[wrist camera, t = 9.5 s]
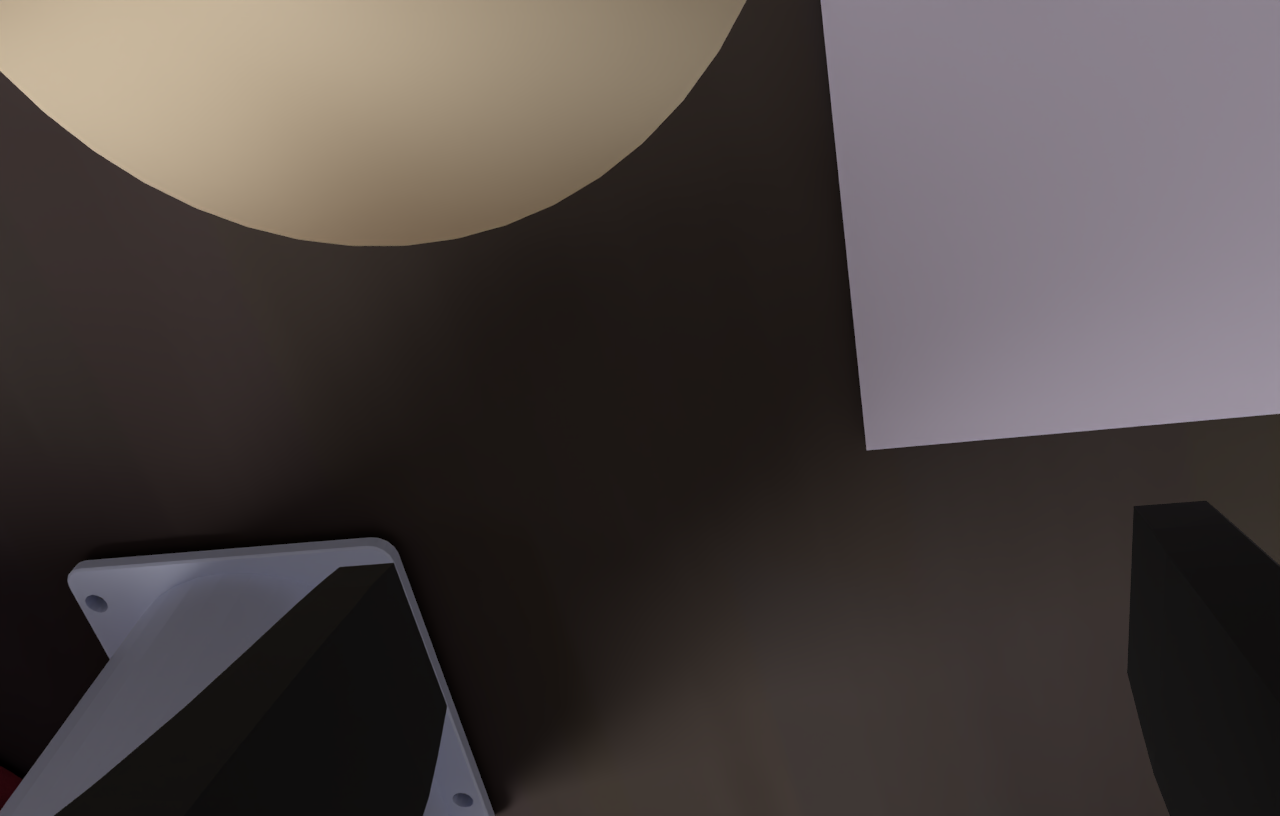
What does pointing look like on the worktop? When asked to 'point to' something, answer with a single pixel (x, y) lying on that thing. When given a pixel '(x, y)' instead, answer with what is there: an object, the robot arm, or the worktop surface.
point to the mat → (1058, 212)
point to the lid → (363, 101)
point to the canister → (7, 785)
